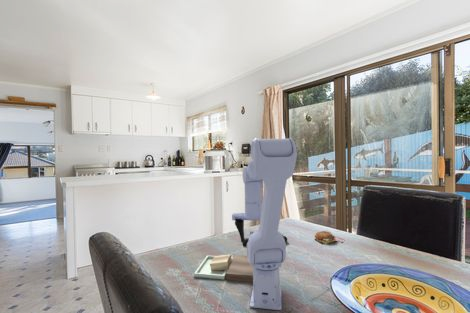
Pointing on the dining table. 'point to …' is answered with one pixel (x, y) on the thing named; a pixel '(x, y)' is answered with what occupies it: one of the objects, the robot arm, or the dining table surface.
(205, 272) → the green tray
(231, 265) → the walnut board
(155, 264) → the dining table surface
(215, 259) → the oak tile
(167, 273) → the dining table surface
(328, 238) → the hamburger
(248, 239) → the black toy gun
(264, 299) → the robot arm
